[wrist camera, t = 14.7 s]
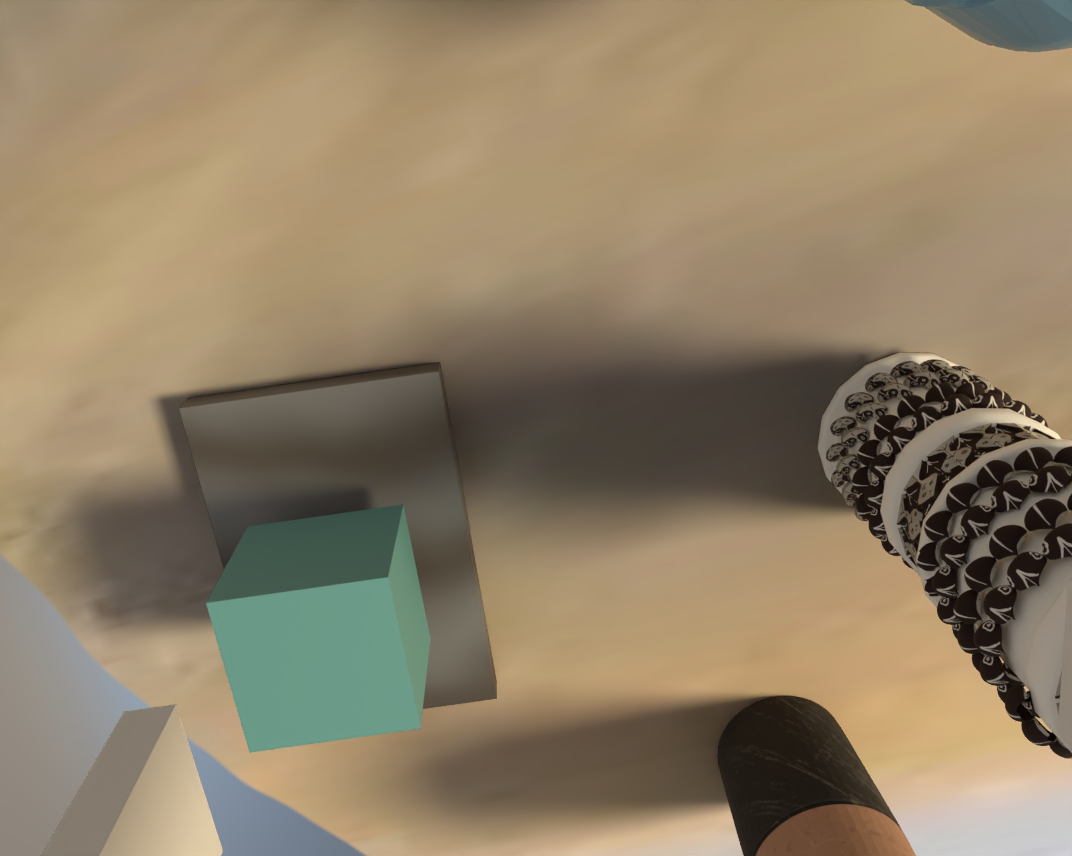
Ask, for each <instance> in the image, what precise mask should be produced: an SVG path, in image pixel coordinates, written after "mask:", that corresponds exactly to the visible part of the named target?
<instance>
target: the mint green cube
mask: <svg viewBox="0 0 1072 856" xmlns="http://www.w3.org/2000/svg"><path fill="white" fill-rule="evenodd" d="M206 605H207V609H208V612H209V616H210V619H211V622H212V626H213V629H214V633H215V636H216V639H217V643H218V646H219V650H220V653H221V656H222V660H223V663H224V667H225V670H226V673H227V677H228V680H229V684H230V687H231V690H232V694H233V697H234V701H235V704H236V707H237V711H238V714H239V718H240V721H241V725H242V728H243V731H244V735H245V738H246V742H247V745H248V748H249V752H257V751H264V750H271V749H278V748H285V747H292V746H300V745H307V744H314V743H321V742H328V741H335V740H342V739H349V738H356V737H364V736H371V735H378V734H385V733H392V732H399V731H406V730H413V729H420V728H421V720H422V711H423V702H424V693H425V684H426V675H427V666H428V657H429V648H430V639H431V638H430V634H429V629H428V624H427V619H426V614H425V609H424V604H423V599H422V594H421V589H420V584H419V579H418V574H417V569H416V564H415V559H414V555H413V550H412V545H411V540H410V535H409V530H408V525H407V520H406V515H405V510H404V505H395V506H388V507H381V508H374V509H367V510H360V511H353V512H346V513H339V514H332V515H325V516H318V517H311V518H304V519H297V520H290V521H283V522H276V523H269V524H262V525H255V526H248V527H247V529H246V531H245V532H244V534H243V536H242V538H241V540H240V542H239V543H238V545H237V547H236V549H235V551H234V553H233V554H232V556H231V558H230V560H229V562H228V563H227V565H226V567H225V569H224V571H223V573H222V574H221V576H220V578H219V580H218V582H217V584H216V585H215V587H214V589H213V591H212V593H211V595H210V596H209V598H208V600H207V602H206Z"/></svg>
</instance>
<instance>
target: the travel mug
mask: <svg viewBox="0 0 1072 856" xmlns="http://www.w3.org/2000/svg"><path fill="white" fill-rule="evenodd" d="M718 764H719V769H720V773H721V777H722V781H723V784H724V788H725V792H726V795H727V799H728V802H729V806H730V809H731V813H732V816H733V820H734V824H735V827H736V831H737V834H738V838H739V841H740V845H741V848H742V852H743V855H744V856H916V855H915V853H914V851H913V849H912V848H911V846H910V844H909V842H908V840H907V838H906V836H905V835H904V833H903V831H902V829H901V828H900V826H899V824H898V822H897V821H896V819H895V817H894V816H893V814H892V812H891V811H890V809H889V807H888V806H887V804H886V802H885V801H884V799H883V797H882V796H881V794H880V792H879V791H878V789H877V787H876V786H875V784H874V782H873V780H872V779H871V777H870V775H869V774H868V772H867V770H866V769H865V767H864V765H863V764H862V762H861V760H860V759H859V757H858V755H857V754H856V752H855V750H854V749H853V747H852V745H851V744H850V742H849V740H848V739H847V737H846V735H845V734H844V732H843V730H842V729H841V727H840V726H839V724H838V723H837V721H836V720H835V718H834V717H833V716H832V715H831V714H830V713H829V712H828V711H827V710H826V709H825V708H823V707H822V706H820V705H819V704H817V703H815V702H813V701H810V700H807V699H804V698H799V697H791V696H783V697H774V698H769V699H765V700H762V701H760V702H757V703H755V704H753V705H751V706H749V707H747V708H746V709H744V710H743V711H741V712H740V713H739V714H738V715H736V716H735V717H734V718H733V719H732V720H731V722H730V723H729V724H728V725H727V727H726V728H725V730H724V732H723V734H722V736H721V739H720V742H719V746H718Z"/></svg>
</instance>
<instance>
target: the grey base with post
mask: <svg viewBox="0 0 1072 856" xmlns="http://www.w3.org/2000/svg"><path fill="white" fill-rule="evenodd" d="M179 411H180V414H181V418H182V421H183V425H184V428H185V432H186V435H187V439H188V442H189V446H190V450H191V453H192V457H193V460H194V464H195V467H196V471H197V474H198V478H199V481H200V485H201V489H202V492H203V496H204V499H205V503H206V506H207V510H208V513H209V517H210V520H211V524H212V528H213V531H214V535H215V538H216V542H217V545H218V549H219V552H220V556H221V560H222V563H223V567H224V569H225V567H226V565H227V563H228V562H229V560H230V558H231V556H232V554H233V553H234V551H235V549H236V547H237V545H238V543H239V542H240V540H241V538H242V536H243V534H244V532H245V531H246V529H247V527H248V526H255V525H262V524H269V523H276V522H283V521H290V520H297V519H304V518H311V517H318V516H325V515H332V514H339V513H346V512H353V511H360V510H367V509H374V508H381V507H388V506H395V505H404V510H405V515H406V520H407V525H408V530H409V535H410V540H411V545H412V550H413V555H414V559H415V564H416V569H417V574H418V579H419V584H420V589H421V594H422V599H423V604H424V609H425V614H426V619H427V624H428V629H429V634H430V638H431V639H430V648H429V657H428V666H427V675H426V684H425V693H424V702H423V709H426V708H433V707H440V706H447V705H454V704H461V703H468V702H475V701H483V700H490V699H497V681H496V675H495V670H494V664H493V659H492V653H491V647H490V642H489V636H488V630H487V625H486V619H485V614H484V608H483V602H482V597H481V591H480V585H479V580H478V574H477V568H476V563H475V557H474V552H473V546H472V540H471V535H470V529H469V523H468V518H467V512H466V506H465V501H464V495H463V490H462V484H461V478H460V473H459V467H458V461H457V456H456V450H455V444H454V439H453V433H452V428H451V422H450V416H449V411H448V405H447V399H446V394H445V388H444V382H443V377H442V371H441V366H440V362H439V363H432V364H425V365H418V366H411V367H404V368H397V369H390V370H383V371H376V372H369V373H362V374H355V375H348V376H341V377H334V378H327V379H320V380H313V381H306V382H299V383H292V384H285V385H278V386H271V387H264V388H257V389H250V390H243V391H236V392H229V393H222V394H215V395H208V396H201V397H194V398H188V400H187V401H186V402H185V403H184V404H183V405H182V406H181V407H180V408H179Z"/></svg>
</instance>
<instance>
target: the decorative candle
mask: <svg viewBox="0 0 1072 856" xmlns="http://www.w3.org/2000/svg"><path fill="white" fill-rule="evenodd" d="M818 452H819V455H820V458H821V462H822V465H823V468H824V472H825V475H826V477H827V478H828V480H829V481H830V482H831V483H832V484H833V485H834V486H835V487H836V488H837V489H838V490H839V492H840V493H841V494H842V496H843V497H844V501H845V503H846V504H847V505H848V506H850V507H855V506H856V509H855V515H856V517H857V518H858V519H859V520H861V521H867V520H869V530H870V532H871V533H872V535H874V536H875V537H876V538H878V539H881V542H882V546H883V548H884V549H885V551H887V552H888V553H889V554H891V555H893V556H902V560H903V562H904V563H905V565H907V566H908V567H910V568H912V569H914V570H915V571H916V572H917V573H918V575H919V576H920V577H921V580H922V584H923V588H924V591H925V595H926V596H927V597H928V598H929V600H930V601H931V602H932V603H933V604H934V605H935V606H936V607H937V613H938V616H939V618H940V620H941V621H942V622H944V623H946V624H950V625H953V627H952V629H953V633H954V635H955V637H956V638H957V640H958V643H959V645H960V647H961V648H962V649H963V650H964V651H965V652H966V653H970V654H973V655H972V662H973V665H974V667H975V668H976V669H977V670H978V671H979V672H980V674H981V677H982V679H983V680H984V681H985V682H987V683H989V684H991V685H995V686H997V691H998V695H999V697H1000V698H1001V700H1002V701H1003V702H1004V703H1005V708H1006V711H1007V713H1008V714H1009V716H1010V717H1011V718H1012V719H1014V720H1016V721H1020V722H1022V725H1021V726H1022V731H1023V733H1024V735H1025V737H1026V738H1027V739H1028V740H1029V741H1031V742H1032V743H1034V744H1036V745H1039V746H1047V745H1049V746H1050V748H1051V749H1052V751H1053V752H1054V753H1056V754H1057V755H1059V756H1061V757H1064V758H1068V759H1072V750H1071V749H1070V748H1069V746H1068V745H1067V744H1066V743H1065V742H1064V741H1063V740H1062V738H1061V737H1060V736H1059V735H1058V719H1059V704H1060V689H1061V675H1062V660H1063V645H1064V630H1065V615H1066V601H1067V586H1068V579H1069V578H1072V440H1071V439H1061V438H1060V437H1059V435H1058V434H1057V433H1055V432H1054V431H1052V430H1050V429H1049V428H1048V426H1047V423H1046V421H1045V419H1044V418H1043V417H1041V416H1040V415H1038V414H1035V413H1031V410H1030V408H1029V407H1028V406H1027V405H1026V404H1024V403H1023V402H1020V401H1012V400H1011V397H1010V396H1009V395H1008V394H1007V393H1006V392H1004V391H1001V390H999V389H997V388H995V387H993V385H992V384H991V383H990V382H989V381H988V380H986V379H985V378H983V377H980V376H976V375H975V374H974V373H973V372H972V371H971V370H969V369H968V368H965V367H962V366H959V365H957V364H955V363H952V362H950V361H948V360H946V359H944V358H941V357H939V356H937V355H935V354H933V353H897V354H894V355H891V356H888V357H886V358H883V359H880V360H878V361H875V362H872V363H870V364H867V365H865V366H864V367H863V368H861V369H860V370H859V371H858V372H857V373H855V374H854V375H853V376H852V377H851V378H850V379H848V380H847V381H846V382H845V383H844V384H842V385H841V386H840V387H839V388H838V390H837V391H836V393H835V395H834V397H833V398H832V400H831V402H830V404H829V405H828V407H827V409H826V411H825V412H824V414H823V416H822V419H821V427H820V434H819V441H818ZM999 656H1000V657H1001V658H1002V660H1003V661H1004V663H1002V662H1001V660H1000V658H999ZM1024 686H1026V687H1027V688H1028V689H1029V690H1030V691H1027V693H1026V691H1025V689H1024V688H1023V687H1024ZM1024 706H1025V707H1024ZM1034 716H1036V717H1038V718H1041V719H1042V720H1043V721H1044V722H1045V724H1046V725H1047V726H1048V727H1049V728H1050V729H1051V731H1052V733H1051V732H1049V731H1048V730H1046V728H1045V727H1044V726H1043V725H1042V724H1041V723H1040V722H1039V721H1038V720H1037V719H1036V718H1035V717H1034Z"/></svg>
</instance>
